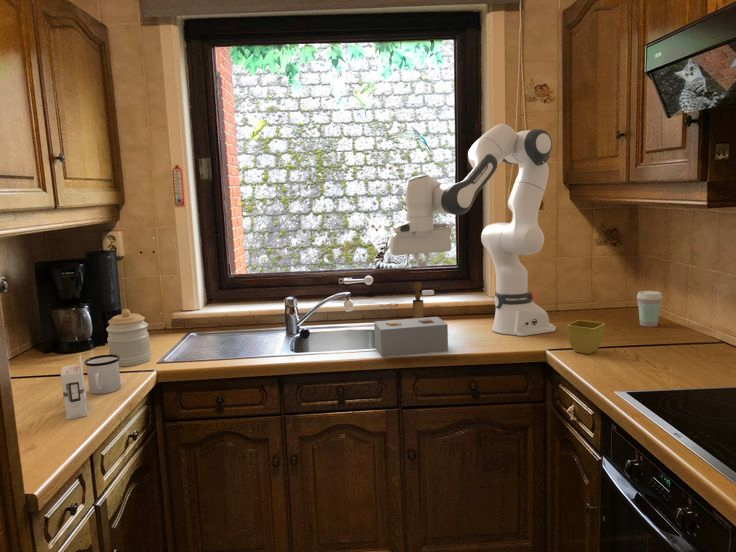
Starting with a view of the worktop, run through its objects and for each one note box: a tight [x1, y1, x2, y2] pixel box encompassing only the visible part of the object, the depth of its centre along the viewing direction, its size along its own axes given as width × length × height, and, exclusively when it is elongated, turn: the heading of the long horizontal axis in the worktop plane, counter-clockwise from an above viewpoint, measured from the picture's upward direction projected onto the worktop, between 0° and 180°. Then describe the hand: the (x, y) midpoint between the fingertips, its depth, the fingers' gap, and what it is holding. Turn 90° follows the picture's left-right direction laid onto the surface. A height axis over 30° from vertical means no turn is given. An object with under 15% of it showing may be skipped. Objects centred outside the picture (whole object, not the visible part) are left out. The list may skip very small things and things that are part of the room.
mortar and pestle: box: [412, 281, 425, 319], centre depth 230 cm, size 7×6×18 cm
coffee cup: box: [636, 290, 663, 328], centre depth 223 cm, size 8×9×12 cm
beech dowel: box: [388, 322, 400, 326], centre depth 203 cm, size 4×4×9 cm
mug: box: [83, 354, 122, 395], centre depth 174 cm, size 12×10×9 cm
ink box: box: [60, 353, 88, 421], centre depth 157 cm, size 8×5×15 cm, turn 24°
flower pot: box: [566, 319, 606, 355], centre depth 193 cm, size 9×9×9 cm
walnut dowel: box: [420, 319, 432, 324], centre depth 205 cm, size 4×4×9 cm
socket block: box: [373, 316, 449, 358], centre depth 204 cm, size 22×12×9 cm, turn 99°
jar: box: [105, 308, 152, 367], centre depth 203 cm, size 13×13×18 cm
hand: (421, 266), depth 204 cm, fingers closed
